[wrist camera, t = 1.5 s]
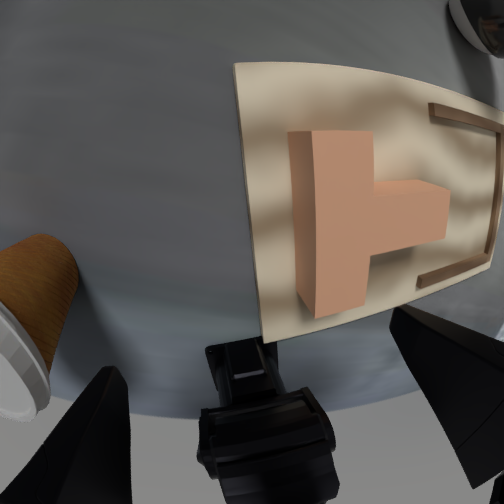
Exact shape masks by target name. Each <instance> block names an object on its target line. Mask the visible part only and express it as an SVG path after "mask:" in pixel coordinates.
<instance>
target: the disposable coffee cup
mask: <svg viewBox="0 0 504 504" xmlns="http://www.w3.org/2000/svg"><path fill="white" fill-rule="evenodd" d="M78 281H79V276H78V269H77V265H76V263H75V260H74V258H73V256H72V254H71V253H70V252H69V250H68V249H67V247H66V246H65V245H64V244H63V243H62V242H60V241H59V240H57V239H56V238H54V237H52V236H49V235H46V234H36V235H33V236H31V237H29V238H27V239H25V240H23V241H20V242H18V243H16V244H14V245H12V246H11V247H8V248H6V249H4V250H2V251H1V252H0V415H1V416H3V417H5V418H8V419H11V420H14V421H19V422H28V421H31V420H33V419H34V418H35V416H36V415H37V413H38V411H40V410H43V409H44V408H46V407H47V405H48V404H49V400H50V396H51V394H50V381H49V374H50V370H51V366H52V362H53V358H54V356H53V355H55V351H56V348H57V344H58V341H59V338H60V334H61V331H62V328H63V325H64V324H63V323H64V322H65V319H66V316H67V314H68V311H69V308H70V305H71V302H72V300H73V297H74V295H75V292H76V290H77V288H78Z"/></svg>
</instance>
